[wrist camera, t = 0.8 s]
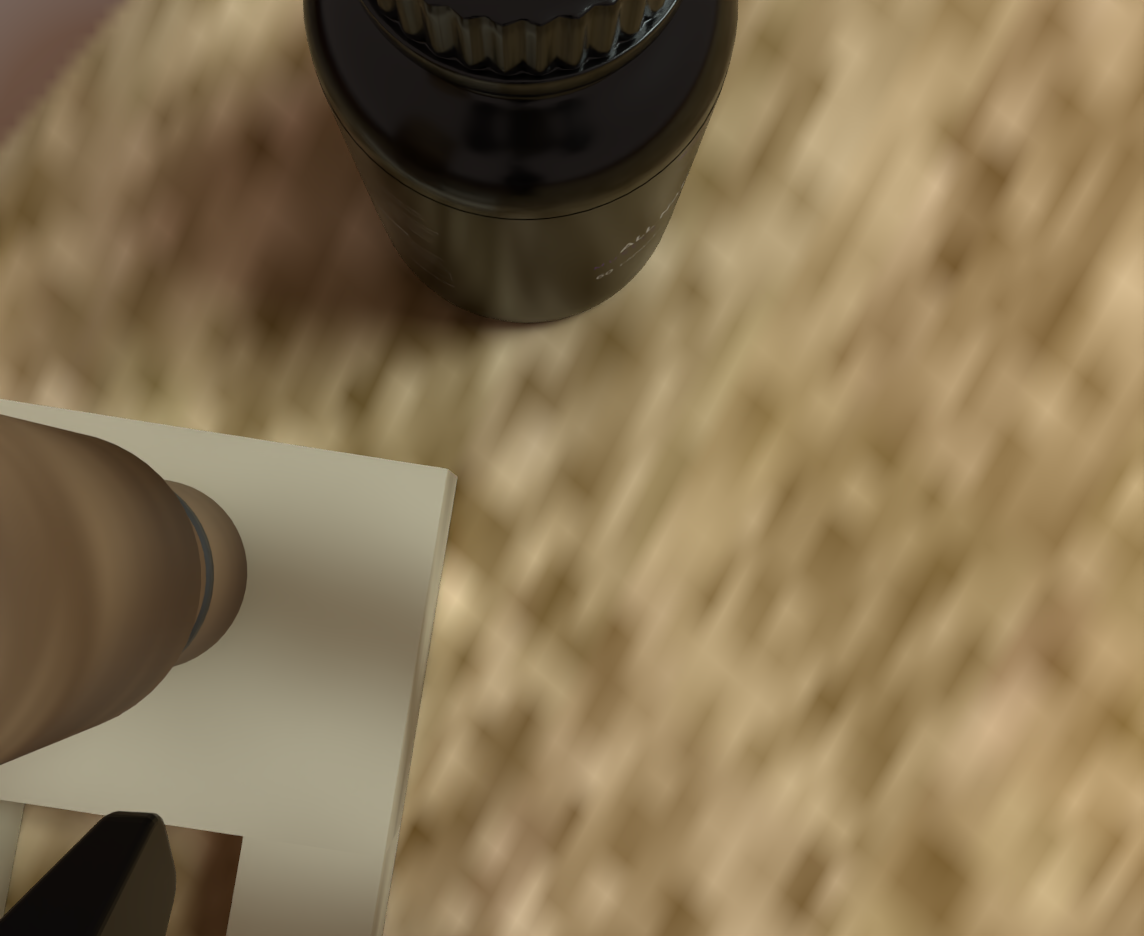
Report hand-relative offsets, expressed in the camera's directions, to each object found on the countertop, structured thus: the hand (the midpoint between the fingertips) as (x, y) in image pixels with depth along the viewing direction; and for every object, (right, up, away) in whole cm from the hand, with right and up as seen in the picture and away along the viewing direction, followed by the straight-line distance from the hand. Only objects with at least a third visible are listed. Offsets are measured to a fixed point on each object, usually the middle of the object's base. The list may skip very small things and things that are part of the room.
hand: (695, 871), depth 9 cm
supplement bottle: (-2, +10, +16) cm, 19 cm away
